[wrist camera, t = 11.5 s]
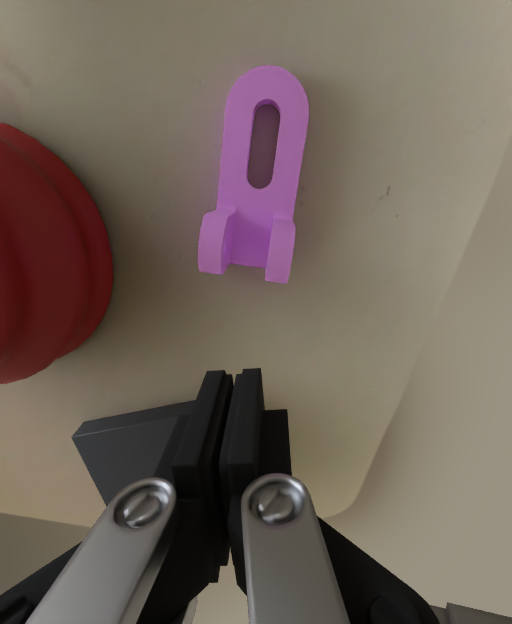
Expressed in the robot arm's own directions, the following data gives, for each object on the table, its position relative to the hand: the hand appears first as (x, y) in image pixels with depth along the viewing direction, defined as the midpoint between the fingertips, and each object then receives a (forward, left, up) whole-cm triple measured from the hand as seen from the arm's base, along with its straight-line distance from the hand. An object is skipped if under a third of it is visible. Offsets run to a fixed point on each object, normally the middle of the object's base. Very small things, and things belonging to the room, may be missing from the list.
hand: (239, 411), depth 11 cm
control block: (-7, +18, -18) cm, 26 cm away
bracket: (+6, -5, -18) cm, 20 cm away
